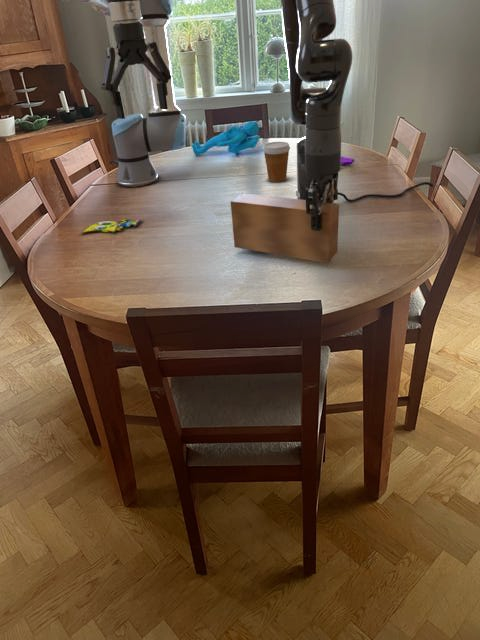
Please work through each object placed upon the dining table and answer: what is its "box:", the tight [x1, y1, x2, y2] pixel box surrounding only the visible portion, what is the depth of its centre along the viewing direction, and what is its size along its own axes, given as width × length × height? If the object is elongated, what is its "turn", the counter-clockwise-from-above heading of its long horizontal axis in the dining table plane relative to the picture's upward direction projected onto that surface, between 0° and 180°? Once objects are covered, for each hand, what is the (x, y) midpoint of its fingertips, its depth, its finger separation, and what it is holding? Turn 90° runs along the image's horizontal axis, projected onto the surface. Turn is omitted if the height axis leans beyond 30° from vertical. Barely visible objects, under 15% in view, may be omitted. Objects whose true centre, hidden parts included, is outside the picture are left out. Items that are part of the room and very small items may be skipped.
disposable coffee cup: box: [262, 141, 291, 183], centre depth 169 cm, size 10×10×12 cm
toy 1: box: [82, 218, 141, 235], centre depth 145 cm, size 10×1×15 cm
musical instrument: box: [340, 156, 355, 167], centre depth 185 cm, size 24×2×20 cm
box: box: [230, 192, 340, 264], centre depth 115 cm, size 25×6×12 cm, turn 61°
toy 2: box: [191, 120, 261, 156], centre depth 207 cm, size 17×11×30 cm
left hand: (143, 113), depth 131 cm, fingers open, 13 cm apart
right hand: (321, 224), depth 110 cm, fingers closed on box, 6 cm apart
